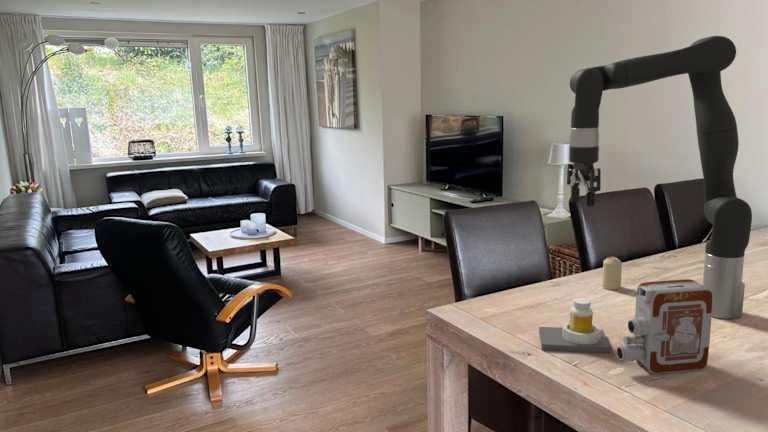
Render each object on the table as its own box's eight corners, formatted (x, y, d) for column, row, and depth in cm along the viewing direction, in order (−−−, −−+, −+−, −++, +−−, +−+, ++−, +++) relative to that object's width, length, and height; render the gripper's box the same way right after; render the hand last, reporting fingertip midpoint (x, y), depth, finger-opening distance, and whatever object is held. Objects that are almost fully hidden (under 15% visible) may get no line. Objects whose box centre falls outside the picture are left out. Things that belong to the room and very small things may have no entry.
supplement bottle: (564, 334, 144) (565, 299, 142) (581, 330, 146) (583, 295, 144) (578, 342, 139) (580, 305, 137) (596, 338, 141) (598, 302, 139)
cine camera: (607, 361, 132) (611, 280, 128) (686, 355, 134) (692, 274, 130) (627, 380, 123) (632, 293, 119) (712, 373, 125) (719, 287, 121)
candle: (622, 290, 178) (623, 260, 176) (604, 289, 180) (605, 259, 178) (618, 284, 184) (620, 255, 182) (601, 284, 185) (602, 255, 183)
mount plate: (602, 334, 147) (603, 320, 146) (610, 353, 136) (610, 337, 135) (539, 331, 150) (539, 317, 149) (541, 349, 139) (542, 334, 139)
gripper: (611, 145, 145) (608, 207, 148) (584, 142, 159) (582, 198, 162) (584, 147, 144) (582, 209, 147) (559, 143, 158) (557, 200, 161)
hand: (582, 203), depth 155 cm, fingers open, 8 cm apart
